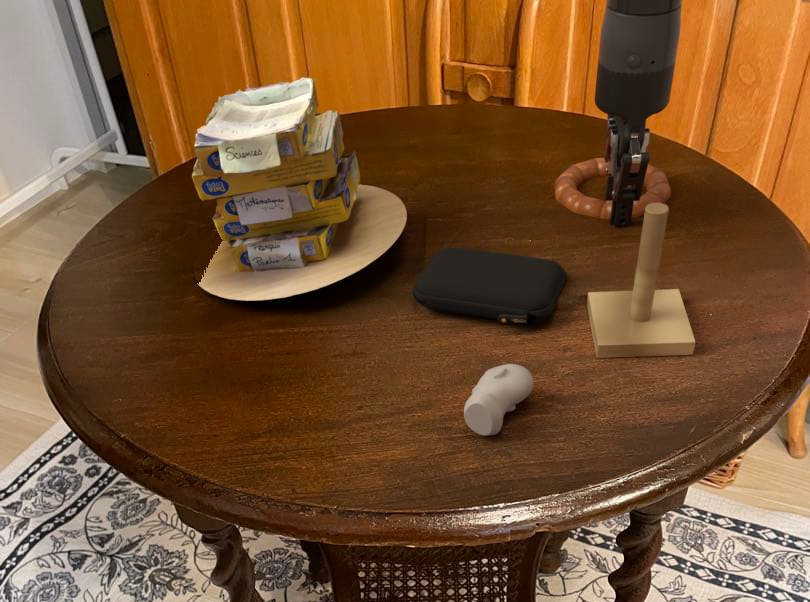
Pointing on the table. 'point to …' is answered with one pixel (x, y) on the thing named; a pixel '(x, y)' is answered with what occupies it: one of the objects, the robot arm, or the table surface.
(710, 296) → the table surface
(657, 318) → the post
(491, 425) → the smooth white sculpture
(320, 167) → the stack of yellow boxes
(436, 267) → the carrying case
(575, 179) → the ring
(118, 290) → the table surface
